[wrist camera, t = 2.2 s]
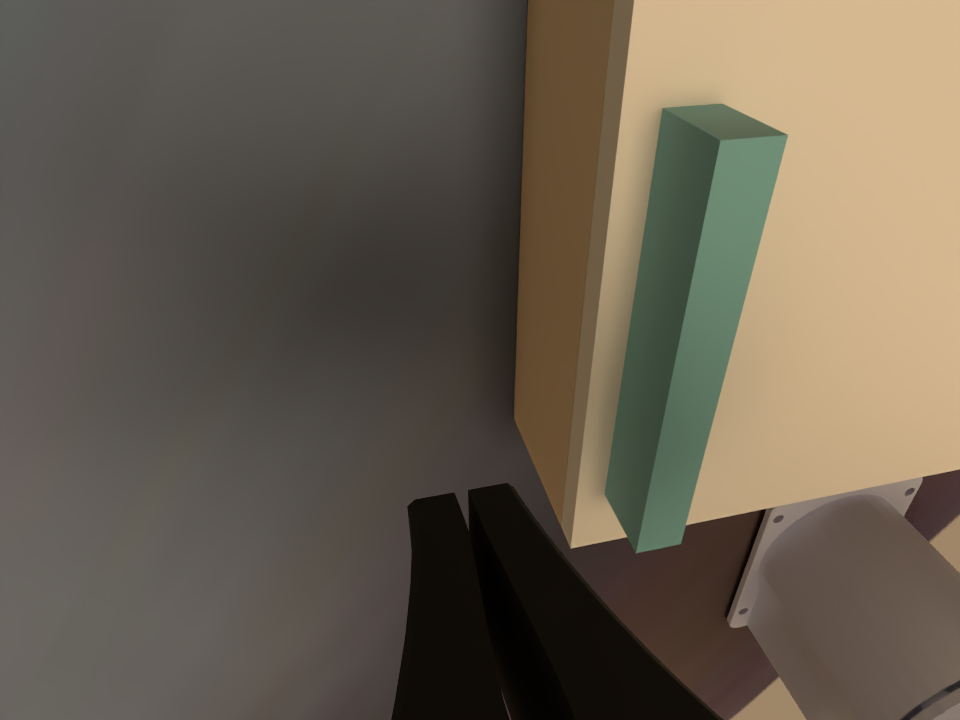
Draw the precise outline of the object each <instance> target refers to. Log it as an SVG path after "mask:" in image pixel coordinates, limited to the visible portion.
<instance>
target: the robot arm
mask: <svg viewBox="0 0 960 720" xmlns="http://www.w3.org/2000/svg"><path fill="white" fill-rule="evenodd" d="M922 480H923V478H922V477H919V478H914V479H910V480H905V481H900V482H895V483H890V484H885V485H880V486H875V487H870V488H865V489H860V490H856V491H851V492H846V493H841V494H836V495H831V496H826V497H821V498H816V499H811V500H806V501H802V502H797V503H792V504H787V505H782V506H777V507H772V508H767V509H766V512H765V515H764V517H763V520H762V523H761V526H760V528H759V531H758V534H757V537H756V540H755V542H754V545H753V548H752V551H751V553H750V556H749V559H748V562H747V565H746V567H745V570H744V573H743V576H742V578H741V581H740V584H739V587H738V589H737V592H736V595H735V598H734V601H733V603H732V606H731V609H730V612H729V614H728V617H727V622H728V624H729V625H730V627H732V628H738V627H742V626H746V625H747V626H748V628H749V629H750V631H751V632H752V634H753V635H754V637H755V639H756V640H757V642H758V643H759V645H760V647H761V648H762V650H763V651H764V653H765V654H766V656H767V658H768V659H769V661H770V662H771V664H772V666H773V667H774V669H775V670H776V672H777V673H778V675H779V677H780V678H781V680H782V681H783V683H784V684H785V686H786V688H787V689H788V691H789V692H790V694H791V696H792V697H793V699H794V700H795V702H796V703H797V705H798V707H799V708H800V710H801V711H802V713H803V714H804V716H805V718H806V719H807V720H960V573H959V572H958V571H957V570H956V569H955V568H954V567H953V566H952V565H951V564H950V563H949V562H948V561H947V560H946V559H945V558H944V557H943V556H942V555H941V554H940V553H939V552H938V551H937V550H936V549H935V548H934V547H933V546H932V545H931V544H930V543H929V542H928V541H927V540H926V539H925V538H924V537H923V536H922V535H921V534H920V533H919V532H918V531H917V530H916V529H915V528H914V527H913V526H912V525H911V524H910V523H909V522H908V521H907V520H906V519H905V518H904V515H905V513H906V511H907V509H908V507H909V505H910V504H911V502H912V500H913V498H914V496H915V494H916V492H917V491H918V489H919V487H920V485H921V483H922ZM468 504H469V531H468V528H467V525H466V522H465V519H464V517H463V514H462V511H461V509H460V506H459V503H458V501H457V498H456V496H455V493H449V494H443V495H438V496H432V497H427V498H421V499H416V500H414V501H413V502H412V503H411V504H410V505H408V506H407V507H408V517H409V527H410V537H411V548H412V562H411V585H410V595H409V605H408V615H407V625H406V634H405V642H404V649H403V655H402V661H401V667H400V673H399V679H398V685H397V692H396V698H395V703H394V709H393V714H392V719H391V720H509V716H508V713H507V710H506V707H505V703H504V700H503V696H504V699H505V702H506V705H507V708H508V711H509V713H510V716H511V719H512V720H723V719H722V718H721V717H720V716H718V715H717V714H716V713H715V712H714V711H713V710H712V709H710V708H709V707H708V706H707V705H706V704H705V703H704V702H703V701H702V700H701V699H700V698H698V697H697V696H696V695H695V694H694V693H693V692H692V691H691V690H690V689H689V688H688V687H686V686H685V685H684V684H683V683H682V682H681V681H680V680H679V679H678V678H677V677H676V676H675V675H674V674H673V673H672V672H671V671H670V670H669V669H668V668H667V667H665V666H664V665H663V664H662V663H661V662H660V661H659V660H658V659H657V658H656V657H655V656H654V655H653V654H652V653H651V652H650V651H649V650H648V649H647V648H646V647H645V645H644V644H643V643H642V642H641V641H640V640H639V639H638V638H637V637H636V636H635V635H634V634H633V633H632V632H631V631H630V630H629V629H628V628H627V627H626V626H625V625H624V624H623V623H622V622H621V620H620V619H619V618H618V617H617V616H616V615H615V614H614V613H613V612H612V611H611V610H610V608H609V607H608V606H607V605H606V604H605V603H604V602H603V601H602V600H601V598H600V597H599V596H598V595H597V594H596V593H595V591H594V590H593V589H592V588H591V587H590V586H589V585H588V583H587V582H586V581H585V580H584V579H583V578H582V576H581V575H580V574H579V573H578V572H577V571H576V570H575V568H574V567H573V566H572V565H571V564H570V562H569V561H568V560H567V559H566V557H565V556H564V555H563V554H562V553H561V551H560V550H559V549H558V547H557V546H556V545H555V544H554V542H553V541H552V540H551V539H550V537H549V536H548V535H547V533H546V532H545V531H544V529H543V528H542V527H541V526H540V524H539V523H538V522H537V520H536V519H535V517H534V516H533V515H532V513H531V512H530V511H529V509H528V508H527V506H526V505H525V503H524V502H523V501H522V499H521V498H520V496H519V495H518V493H517V492H516V490H515V489H514V487H512V486H511V485H509V484H508V483H504V484H499V485H493V486H488V487H482V488H477V489H471V490H468ZM500 687H501V688H500ZM501 690H502V692H501ZM502 693H503V696H502Z"/></svg>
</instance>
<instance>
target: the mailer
mask: <svg viewBox="0 0 960 720" xmlns="http://www.w3.org/2000/svg"><path fill="white" fill-rule="evenodd" d="M613 7H614V0H528V13H527V43H526V72H525V102H524V132H523V161H522V191H521V221H520V250H519V280H518V310H517V339H516V369H515V399H514V420H515V422H516V425H517V427H518V429H519V431H520V434H521V436H522V438H523V441H524V443H525V445H526V447H527V450H528V452H529V454H530V457H531V459H532V461H533V463H534V466H535V468H536V470H537V473H538V475H539V477H540V480H541V482H542V484H543V486H544V489H545V491H546V493H547V496H548V498H549V500H550V502H551V505H552V507H553V509H554V512H555V514H556V516H557V518H558V521H559V523H560V525H561V524H562V515H563V505H564V495H565V485H566V475H567V465H568V455H569V445H570V435H571V425H572V415H573V405H574V395H575V385H576V375H577V365H578V355H579V345H580V335H581V325H582V315H583V305H584V295H585V286H586V276H587V266H588V256H589V246H590V236H591V226H592V216H593V206H594V196H595V186H596V176H597V166H598V156H599V146H600V136H601V126H602V116H603V106H604V96H605V86H606V76H607V67H608V57H609V47H610V37H611V27H612V17H613Z"/></svg>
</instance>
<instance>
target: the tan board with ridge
mask: <svg viewBox="0 0 960 720" xmlns="http://www.w3.org/2000/svg"><path fill="white" fill-rule="evenodd" d="M959 469H960V0H614V7H613V17H612V27H611V37H610V47H609V57H608V67H607V76H606V86H605V96H604V106H603V116H602V126H601V136H600V146H599V156H598V166H597V176H596V186H595V196H594V206H593V216H592V226H591V236H590V246H589V256H588V266H587V276H586V286H585V295H584V305H583V315H582V325H581V335H580V345H579V355H578V365H577V375H576V385H575V395H574V405H573V415H572V425H571V435H570V445H569V455H568V465H567V475H566V485H565V495H564V505H563V515H562V524H561V528H562V530H563V532H564V535H565V537H566V539H567V541H568V544H569V546H570V548H576V547H581V546H585V545H590V544H595V543H600V542H605V541H610V540H615V539H620V538H625V537H627V538H628V539H629V541H630V543H631V545H632V547H633V549H634V551H635V553H640V552H645V551H650V550H654V549H659V548H664V547H669V546H674V545H678V544H681V541H682V538H683V534H684V530H685V526H686V525H689V524H693V523H698V522H703V521H708V520H713V519H718V518H723V517H728V516H733V515H738V514H743V513H748V512H752V511H757V510H762V509H767V508H772V507H777V506H782V505H787V504H792V503H797V502H802V501H806V500H811V499H816V498H821V497H826V496H831V495H836V494H841V493H846V492H851V491H856V490H860V489H865V488H870V487H875V486H880V485H885V484H890V483H895V482H900V481H905V480H910V479H914V478H919V477H924V476H929V475H934V474H939V473H944V472H949V471H954V470H959Z"/></svg>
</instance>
